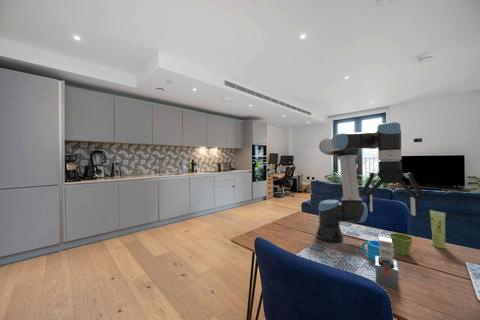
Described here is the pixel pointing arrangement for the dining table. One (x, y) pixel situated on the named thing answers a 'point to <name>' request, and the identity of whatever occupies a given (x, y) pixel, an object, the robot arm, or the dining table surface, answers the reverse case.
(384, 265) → the stand
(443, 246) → the tube
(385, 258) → the column
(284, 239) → the dining table surface
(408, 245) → the plant pot
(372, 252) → the mug
